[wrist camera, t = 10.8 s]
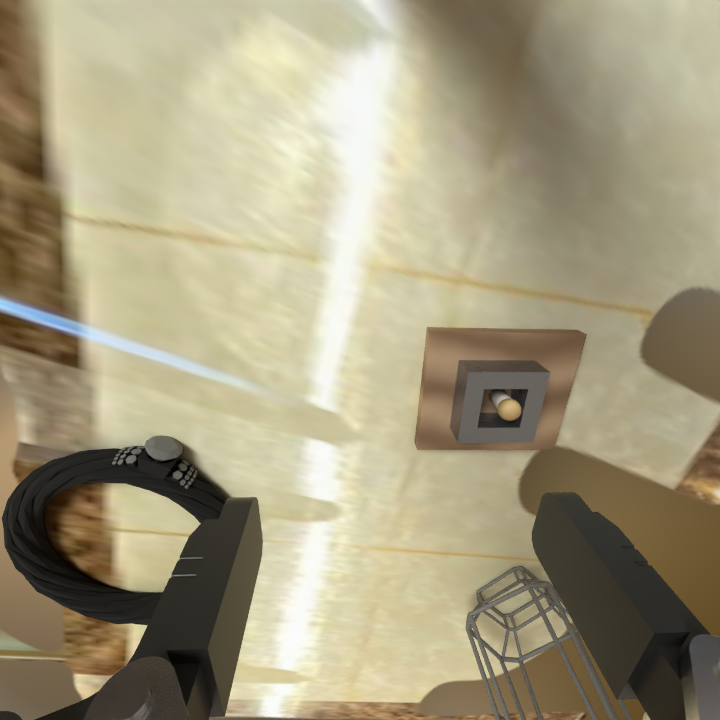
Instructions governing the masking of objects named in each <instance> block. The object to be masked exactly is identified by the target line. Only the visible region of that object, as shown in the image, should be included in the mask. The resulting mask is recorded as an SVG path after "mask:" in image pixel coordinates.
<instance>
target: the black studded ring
mask: <svg viewBox="0 0 720 720" xmlns="http://www.w3.org/2000/svg"><path fill="white" fill-rule="evenodd" d="M183 451H184V450H183V446H182V444H181V443H180V442H179V441H177V440H176V439H174V438H172V437H168V436H155V437H152V438H150V439H149V440H147V441H146V444H145V446H138V447H137V446H132V447H125V448H124V449H121V450H120V449H101V450H88V451H80V452H77V453H74V454H72V455H69V456H66V457H63V458H58V459H54V460H52V461H50V462H48V463H46V464H45V465H43V466H41V467H39V468H38V469H36V470H34V471H33V472H32V473H31V474H30V475H28V476H27V477H26V478H25V479H24V480H23V481H22V482H21V483H20V484H19V485H18V486H17V487H16V489H15V490H14V491H13V493H12V494H11V496H10V497H9V499H8V501H7V504H6V507H5V510H4V513H3V516H2V521H3V528H4V540H5V541H4V542H5V548H6V550H7V552H8V554H9V556H10V558H11V560H12V561H13V564H14V566H15V568H16V569H17V570H18V571H19V572H21V573H22V574H23V575H24V576H25V578H26V579H27V580H28V581H29V583H30V584H31V585H32V586H33V587H34V588H35V590H36V591H37V592H39V593H41V594H43V595H45V596H47V597H49V598H51V599H53V600H54V601H56V602H57V603H59V604H60V605H62V606H65V607H67V608H69V609H71V610H73V611H75V612H78V613H80V614H82V615H84V616H86V617H92V618H94V619H98V620H102V621H106V622H111V623H115V624H129V623H133V624H141V625H148V624H149V622H150V620H151V617H152V615H153V613H154V611H155V609H156V607H157V605H158V602H159V600H160V598H161V596H162V594H163V593H132V592H129V591H125V590H120V589H114V588H109V587H106V586H104V585H103V584H100V583H98V582H96V581H94V580H92V579H90V578H88V577H86V576H84V575H81V574H79V573H77V572H76V571H75V570H74V569H73V568H71V567H70V566H69V565H68V564H67V563H66V562H65V561H64V560H63V559H62V558H61V557H60V556H59V555H58V554H57V553H56V552H55V551H54V550H52V548H51V546H50V544H49V540H48V537H47V534H46V531H45V528H44V521H43V516H44V512H45V508H46V505H47V504H48V503H49V502H50V501H51V500H52V499H53V498H54V497H55V496H56V495H58V494H59V493H61V492H62V491H64V490H65V489H67V488H69V487H72V486H75V485H77V484H87V483H99V482H102V483H126V484H129V485H133V486H136V487H140V488H143V489H146V490H150V491H152V492H155V493H157V494H160V495H162V496H165V497H168V498H169V499H171V500H172V501H174V502H175V503H177V504H179V505H180V506H181V507H183V508H184V509H185V510H187V511H188V512H189V513H191V514H192V515H193V516H195V518H196V519H197V520H198V521H199V522H200V523H202V522H203V521H204V520H205V519H219V517H220V514H221V511H222V509H223V506H224V504H225V502H226V499H224V498H223V497H222V496H221V495H220V494H219V493H218V492H217V491H216V490H215V489H214V488H213V486H212V485H211V484H210V483H209V482H208V481H206V480H204V479H203V478H201V477H199V476H198V475H197V473H198V471H197V470H196V469H195V470H194V467H193V466H192V465H189V463H188V462H187V460H182V461H181V463H180V464H176V461H177V460H178V458H179V457H180V455H181V454H182V452H183ZM188 465H189V466H188ZM187 467H188V468H187Z"/></svg>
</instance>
